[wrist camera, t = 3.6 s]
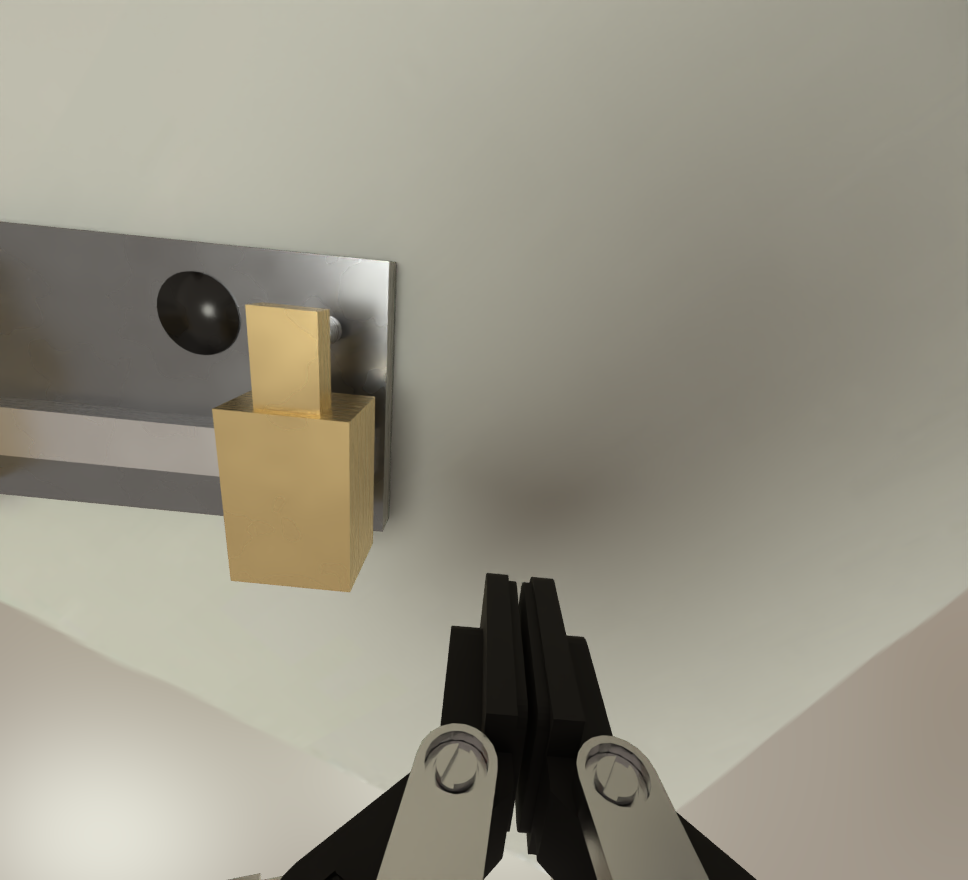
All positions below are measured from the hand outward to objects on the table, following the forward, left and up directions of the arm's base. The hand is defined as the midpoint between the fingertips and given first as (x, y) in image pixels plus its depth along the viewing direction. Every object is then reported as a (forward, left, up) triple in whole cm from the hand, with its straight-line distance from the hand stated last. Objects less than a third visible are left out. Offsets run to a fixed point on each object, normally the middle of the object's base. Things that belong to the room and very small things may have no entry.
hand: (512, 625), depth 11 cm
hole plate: (+16, -3, -9) cm, 19 cm away
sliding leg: (+7, -2, -7) cm, 11 cm away
